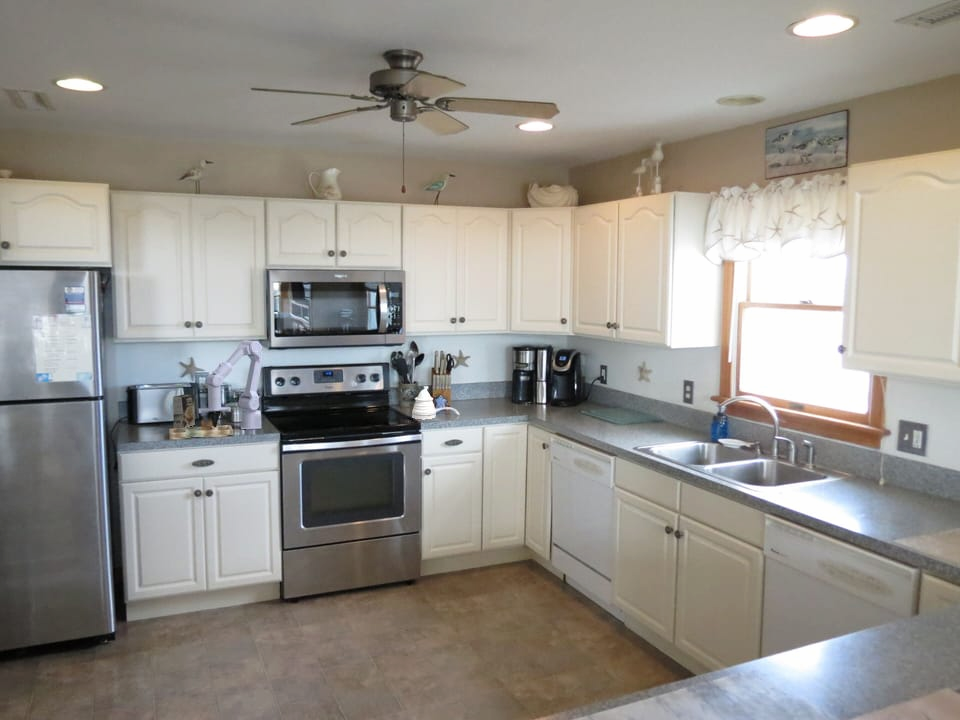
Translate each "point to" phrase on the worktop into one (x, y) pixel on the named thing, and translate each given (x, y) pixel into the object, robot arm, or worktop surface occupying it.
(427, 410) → the honey pot
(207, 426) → the walnut block
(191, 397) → the coffee box
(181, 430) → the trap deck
